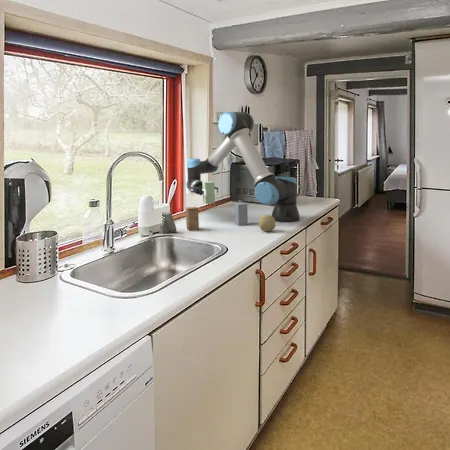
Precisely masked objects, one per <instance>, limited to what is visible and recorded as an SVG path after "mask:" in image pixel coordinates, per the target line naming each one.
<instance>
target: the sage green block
mask: <svg viewBox="0 0 450 450" xmlns="http://www.w3.org/2000/svg"><path fill="white" fill-rule="evenodd" d="M202 186H203V189H205V190H207V196H205V195H203V194H202V203H203V204H205V205H207V204H215V202H216V200H215V198H216V195H215V192H214V187H215V182H214V181H211V180H209V181H202Z"/></svg>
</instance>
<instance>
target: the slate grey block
mask: <svg viewBox="0 0 450 450" xmlns="http://www.w3.org/2000/svg"><path fill="white" fill-rule="evenodd" d="M248 216H249V215H248V203H246V202H234V224H235V225H236V226H238V227H240V226H241V227H242V226H249V225H248Z"/></svg>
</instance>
